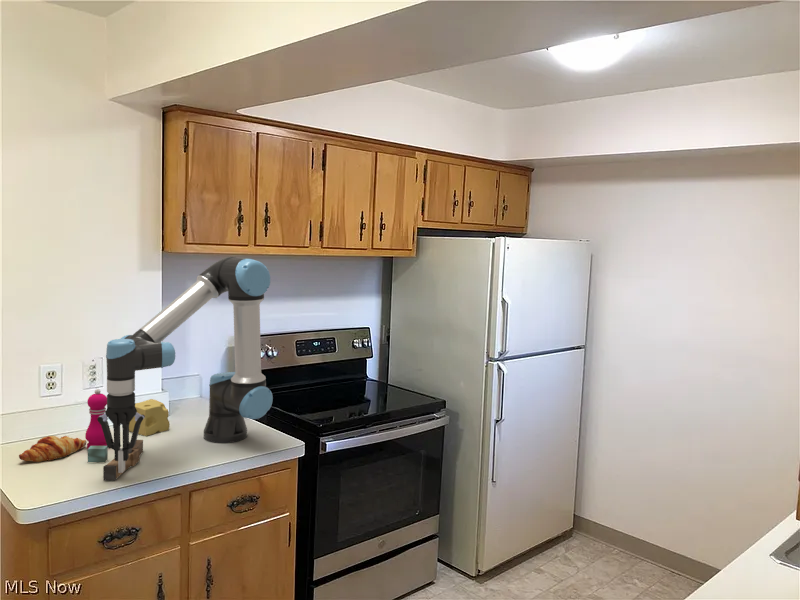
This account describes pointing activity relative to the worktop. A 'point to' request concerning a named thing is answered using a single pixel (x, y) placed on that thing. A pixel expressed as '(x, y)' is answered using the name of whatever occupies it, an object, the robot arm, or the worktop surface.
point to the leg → (112, 467)
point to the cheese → (151, 417)
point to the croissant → (52, 448)
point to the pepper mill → (96, 409)
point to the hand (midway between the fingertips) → (121, 470)
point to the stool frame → (102, 452)
